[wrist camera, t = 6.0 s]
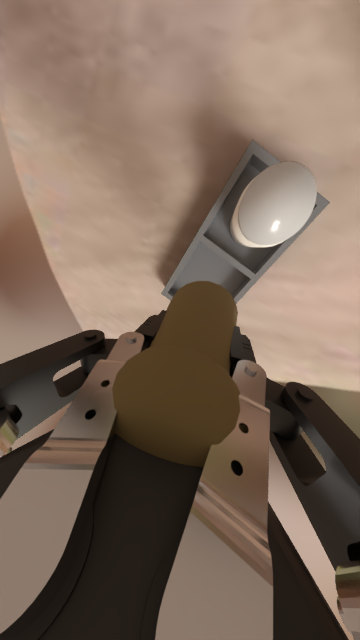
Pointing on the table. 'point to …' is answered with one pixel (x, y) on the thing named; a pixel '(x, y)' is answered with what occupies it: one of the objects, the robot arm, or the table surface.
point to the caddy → (217, 244)
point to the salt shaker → (274, 205)
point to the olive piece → (182, 379)
